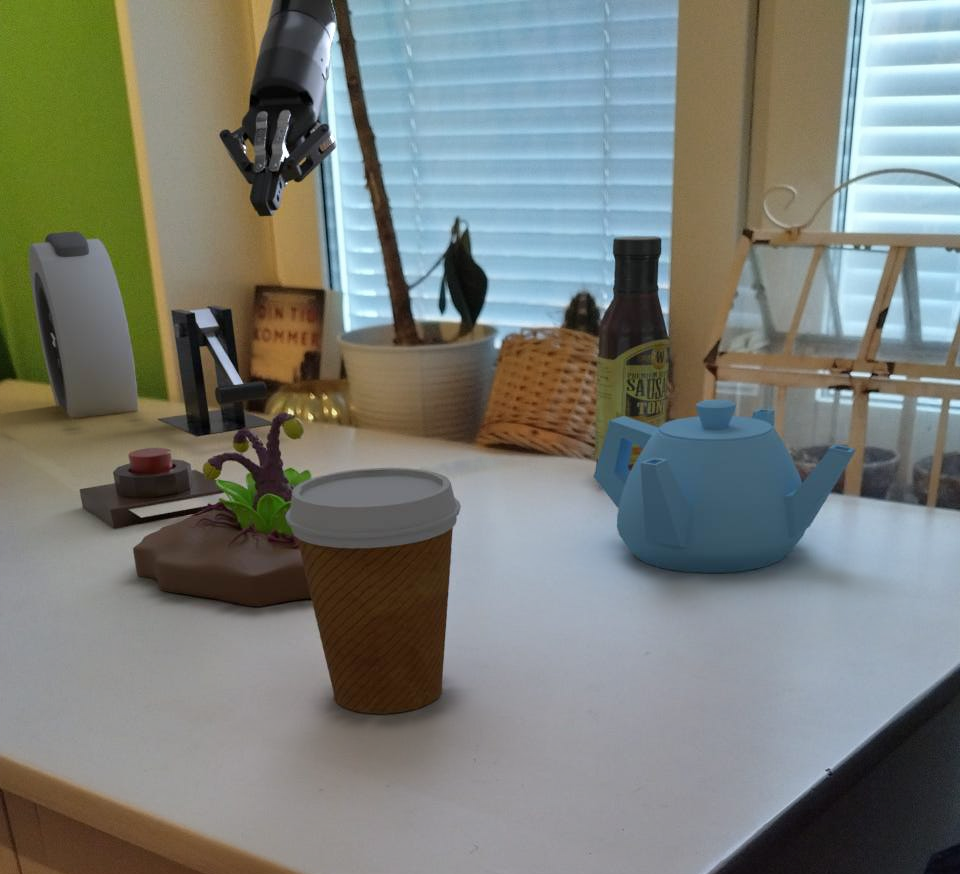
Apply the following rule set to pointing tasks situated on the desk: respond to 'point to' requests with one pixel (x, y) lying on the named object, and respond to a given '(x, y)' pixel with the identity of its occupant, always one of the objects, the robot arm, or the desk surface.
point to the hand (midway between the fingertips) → (263, 210)
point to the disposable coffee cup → (378, 580)
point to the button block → (146, 494)
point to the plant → (236, 532)
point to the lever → (225, 363)
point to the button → (150, 460)
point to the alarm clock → (82, 326)
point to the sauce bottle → (632, 343)
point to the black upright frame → (193, 380)
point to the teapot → (712, 489)
